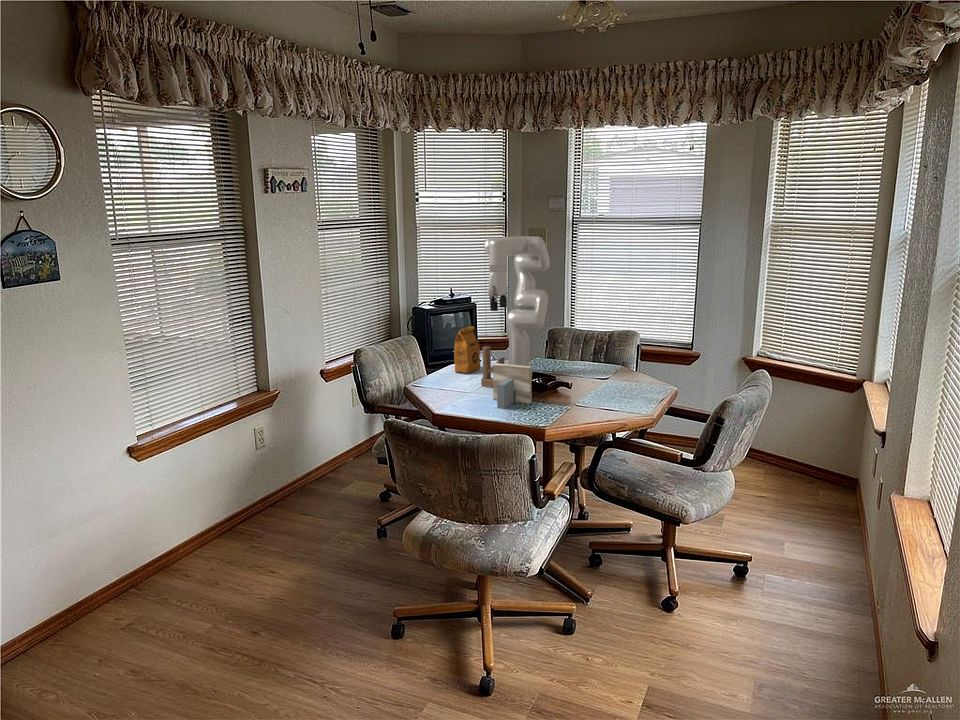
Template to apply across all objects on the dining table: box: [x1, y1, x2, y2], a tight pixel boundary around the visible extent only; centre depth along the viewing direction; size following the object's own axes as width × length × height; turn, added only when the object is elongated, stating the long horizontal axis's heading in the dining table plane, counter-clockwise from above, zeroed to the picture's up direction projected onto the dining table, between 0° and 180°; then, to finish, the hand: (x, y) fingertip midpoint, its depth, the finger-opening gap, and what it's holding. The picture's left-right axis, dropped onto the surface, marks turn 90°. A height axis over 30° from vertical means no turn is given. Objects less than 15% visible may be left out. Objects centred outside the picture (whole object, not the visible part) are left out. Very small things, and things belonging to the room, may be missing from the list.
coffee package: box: [453, 325, 481, 374], centre depth 328 cm, size 10×12×22 cm
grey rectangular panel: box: [496, 378, 516, 410], centre depth 281 cm, size 24×3×10 cm, turn 155°
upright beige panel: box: [492, 362, 533, 404], centre depth 280 cm, size 3×16×15 cm, turn 65°
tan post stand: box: [480, 345, 506, 389], centre depth 301 cm, size 4×11×18 cm, turn 52°
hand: (498, 309), depth 289 cm, fingers open, 9 cm apart
